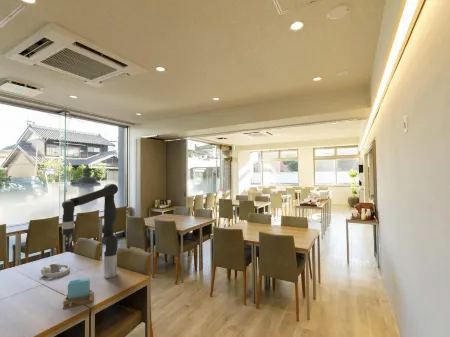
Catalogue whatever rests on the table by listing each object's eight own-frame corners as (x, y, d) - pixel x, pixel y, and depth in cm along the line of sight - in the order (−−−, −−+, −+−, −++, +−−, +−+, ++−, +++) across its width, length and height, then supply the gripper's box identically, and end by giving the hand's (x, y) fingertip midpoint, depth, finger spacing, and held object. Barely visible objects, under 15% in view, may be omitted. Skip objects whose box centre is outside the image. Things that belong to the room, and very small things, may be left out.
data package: (89, 295, 161) (89, 277, 161) (89, 298, 157) (89, 280, 157) (69, 299, 156) (69, 281, 156) (67, 302, 152) (67, 283, 152)
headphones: (34, 277, 191) (55, 282, 187) (35, 267, 191) (56, 273, 187) (55, 268, 209) (74, 272, 205) (56, 259, 209) (75, 264, 205)
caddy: (66, 298, 159) (66, 289, 159) (93, 292, 166) (93, 284, 166) (62, 309, 147) (62, 299, 147) (92, 302, 154) (92, 293, 154)
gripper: (72, 228, 170) (73, 251, 170) (75, 224, 183) (75, 246, 182) (60, 230, 166) (60, 253, 166) (63, 226, 179) (63, 247, 179)
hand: (68, 249), depth 174 cm, fingers open, 8 cm apart
